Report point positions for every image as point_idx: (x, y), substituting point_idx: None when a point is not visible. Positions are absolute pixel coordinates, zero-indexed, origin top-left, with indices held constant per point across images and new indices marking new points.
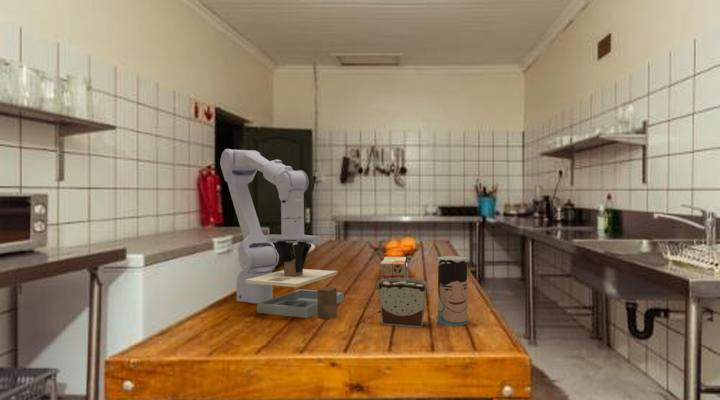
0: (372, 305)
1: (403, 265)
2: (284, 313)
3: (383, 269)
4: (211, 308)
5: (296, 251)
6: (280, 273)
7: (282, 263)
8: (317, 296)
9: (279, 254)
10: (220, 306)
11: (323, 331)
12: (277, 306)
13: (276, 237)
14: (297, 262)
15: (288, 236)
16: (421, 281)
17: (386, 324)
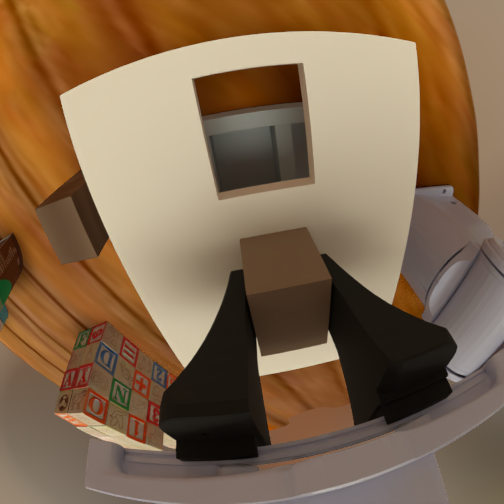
0: (145, 336)
1: (55, 410)
2: (223, 114)
3: (81, 400)
4: (471, 127)
5: (223, 368)
6: (365, 268)
7: (347, 275)
8: (83, 184)
9: (389, 308)
10: (465, 153)
11: (39, 98)
12: (256, 111)
13: (470, 412)
14: (229, 307)
15: (322, 493)
16: None
17: (8, 236)
